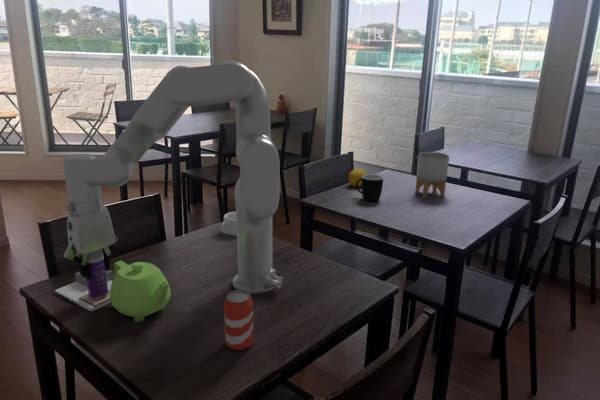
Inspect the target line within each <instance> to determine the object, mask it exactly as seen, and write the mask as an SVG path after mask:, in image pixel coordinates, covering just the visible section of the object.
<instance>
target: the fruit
mask: <svg viewBox="0 0 600 400" xmlns="http://www.w3.org/2000/svg"><path fill="white" fill-rule="evenodd" d="M363 175H368V173H367V172H366V171H365V170H364V169H362V168H355V169H352V170H351V171H350V172H349V173H348V182H349V184H350V185H351V186H353V187H355V188H356V182H357V181H358V180H359V179H362V176H363ZM359 187H362V181H359V182H358V188H359Z"/></svg>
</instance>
